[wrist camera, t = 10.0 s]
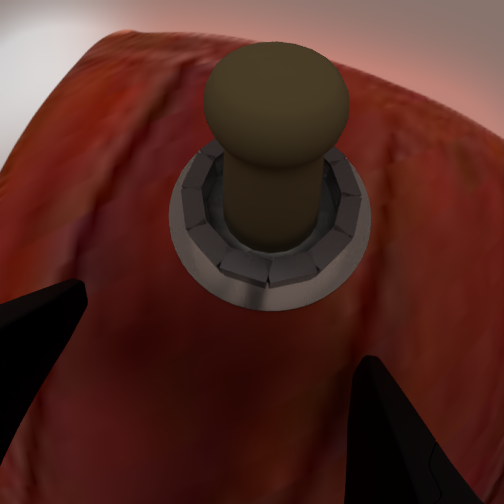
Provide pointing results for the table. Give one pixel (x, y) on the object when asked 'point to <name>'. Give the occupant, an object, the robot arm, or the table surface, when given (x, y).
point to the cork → (274, 139)
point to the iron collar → (259, 263)
